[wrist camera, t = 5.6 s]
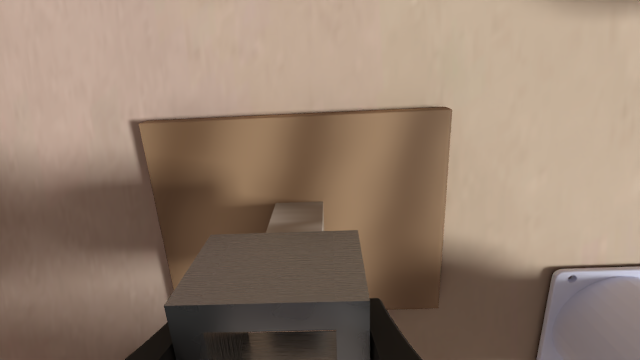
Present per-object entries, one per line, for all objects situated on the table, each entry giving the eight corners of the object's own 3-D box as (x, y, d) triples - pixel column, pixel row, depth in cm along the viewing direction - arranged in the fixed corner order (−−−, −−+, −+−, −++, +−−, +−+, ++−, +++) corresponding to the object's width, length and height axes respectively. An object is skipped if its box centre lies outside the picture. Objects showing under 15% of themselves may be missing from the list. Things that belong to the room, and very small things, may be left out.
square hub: (357, 230, 13) (369, 300, 9) (359, 348, 15) (369, 448, 11) (210, 234, 13) (163, 305, 10) (229, 350, 15) (196, 450, 11)
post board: (445, 106, 19) (496, 128, 13) (433, 297, 23) (469, 377, 17) (147, 120, 20) (74, 146, 14) (185, 305, 23) (139, 384, 18)
